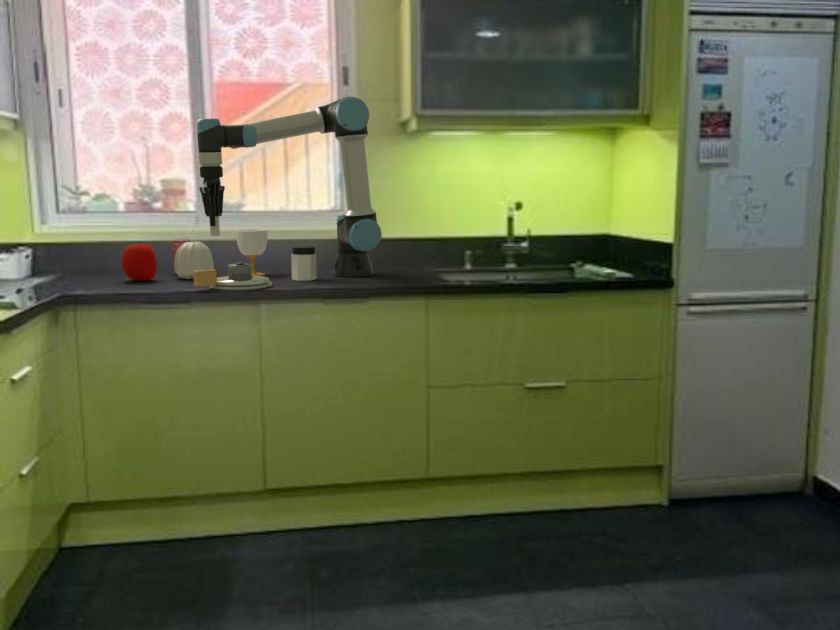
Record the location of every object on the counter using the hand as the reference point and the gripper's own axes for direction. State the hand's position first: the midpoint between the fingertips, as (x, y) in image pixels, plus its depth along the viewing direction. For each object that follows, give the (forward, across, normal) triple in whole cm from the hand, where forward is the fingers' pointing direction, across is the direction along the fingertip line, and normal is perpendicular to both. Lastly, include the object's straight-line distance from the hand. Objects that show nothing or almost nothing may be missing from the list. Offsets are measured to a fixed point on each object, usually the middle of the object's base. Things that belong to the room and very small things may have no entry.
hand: (215, 235), depth 282 cm
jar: (+18, -23, +22) cm, 37 cm away
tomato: (+17, -2, -32) cm, 37 cm away
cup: (+18, -29, -2) cm, 34 cm away
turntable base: (+17, 0, +9) cm, 19 cm away
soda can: (+17, -25, -29) cm, 42 cm away
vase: (+17, -15, -18) cm, 29 cm away
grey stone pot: (+15, 0, +8) cm, 17 cm away
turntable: (+16, +3, +7) cm, 18 cm away
